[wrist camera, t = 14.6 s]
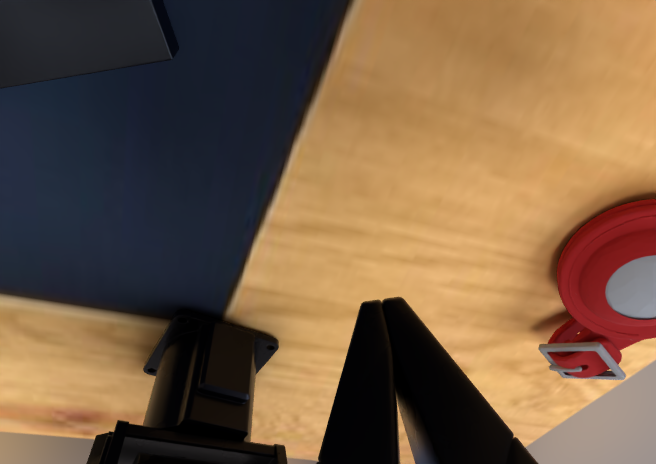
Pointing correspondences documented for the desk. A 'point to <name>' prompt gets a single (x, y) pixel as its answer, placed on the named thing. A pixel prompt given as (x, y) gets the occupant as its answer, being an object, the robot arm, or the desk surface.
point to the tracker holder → (606, 292)
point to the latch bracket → (80, 37)
